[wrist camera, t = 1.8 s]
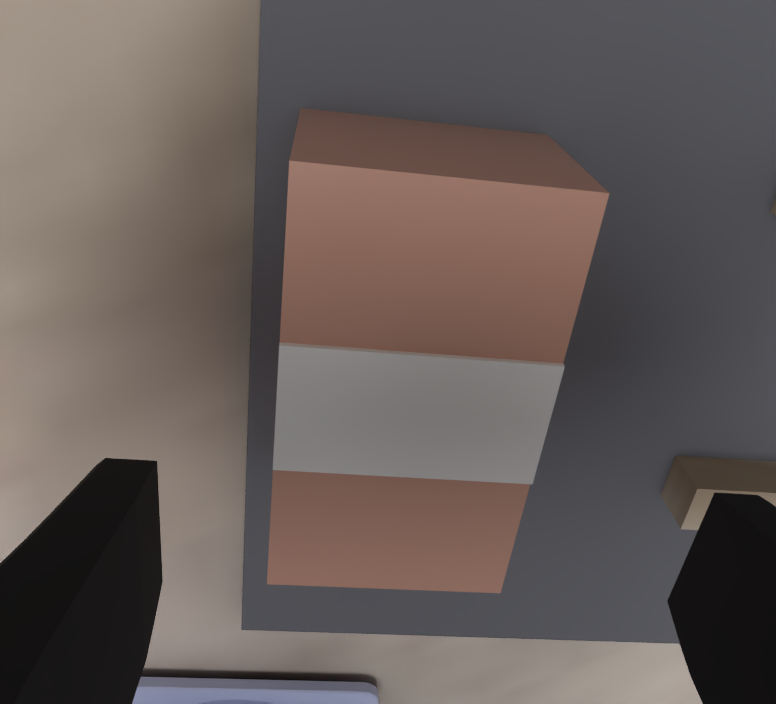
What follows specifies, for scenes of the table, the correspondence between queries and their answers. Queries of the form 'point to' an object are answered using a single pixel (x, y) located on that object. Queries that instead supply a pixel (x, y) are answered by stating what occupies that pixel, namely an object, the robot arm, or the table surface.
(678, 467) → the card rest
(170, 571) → the table surface
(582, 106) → the mat
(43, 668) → the robot arm
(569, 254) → the card box
